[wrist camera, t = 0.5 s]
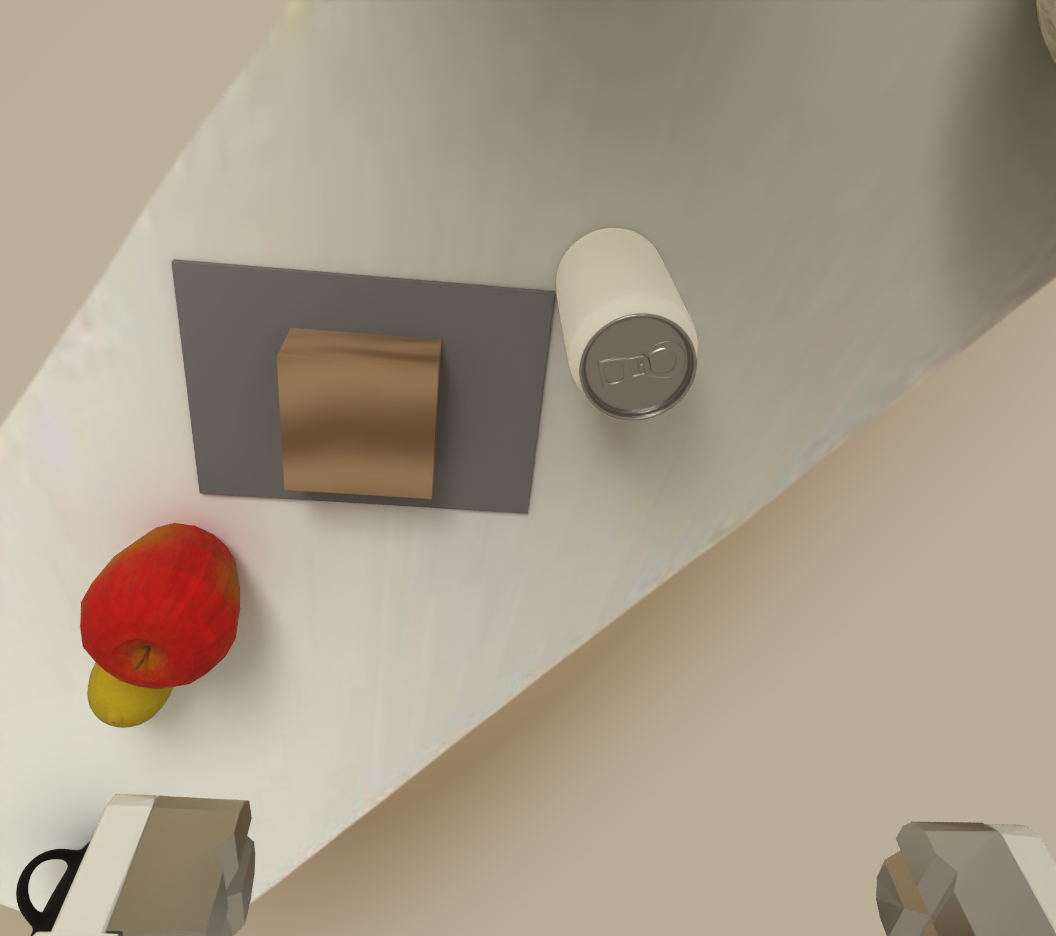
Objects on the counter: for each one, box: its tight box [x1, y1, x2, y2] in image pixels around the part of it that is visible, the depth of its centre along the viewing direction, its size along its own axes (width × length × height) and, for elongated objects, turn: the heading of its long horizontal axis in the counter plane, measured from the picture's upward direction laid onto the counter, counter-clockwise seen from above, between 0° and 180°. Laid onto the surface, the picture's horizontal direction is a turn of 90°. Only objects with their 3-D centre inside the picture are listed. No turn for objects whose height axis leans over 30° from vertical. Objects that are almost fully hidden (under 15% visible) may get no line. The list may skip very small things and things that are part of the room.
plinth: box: [277, 328, 442, 499], centre depth 53 cm, size 9×9×4 cm
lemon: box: [87, 663, 173, 728], centre depth 62 cm, size 6×6×8 cm
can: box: [556, 228, 698, 420], centre depth 46 cm, size 6×6×12 cm
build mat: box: [172, 260, 555, 513], centre depth 55 cm, size 16×22×1 cm
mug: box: [16, 842, 90, 936], centre depth 75 cm, size 12×9×10 cm
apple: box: [80, 523, 240, 689], centre depth 56 cm, size 9×9×12 cm
